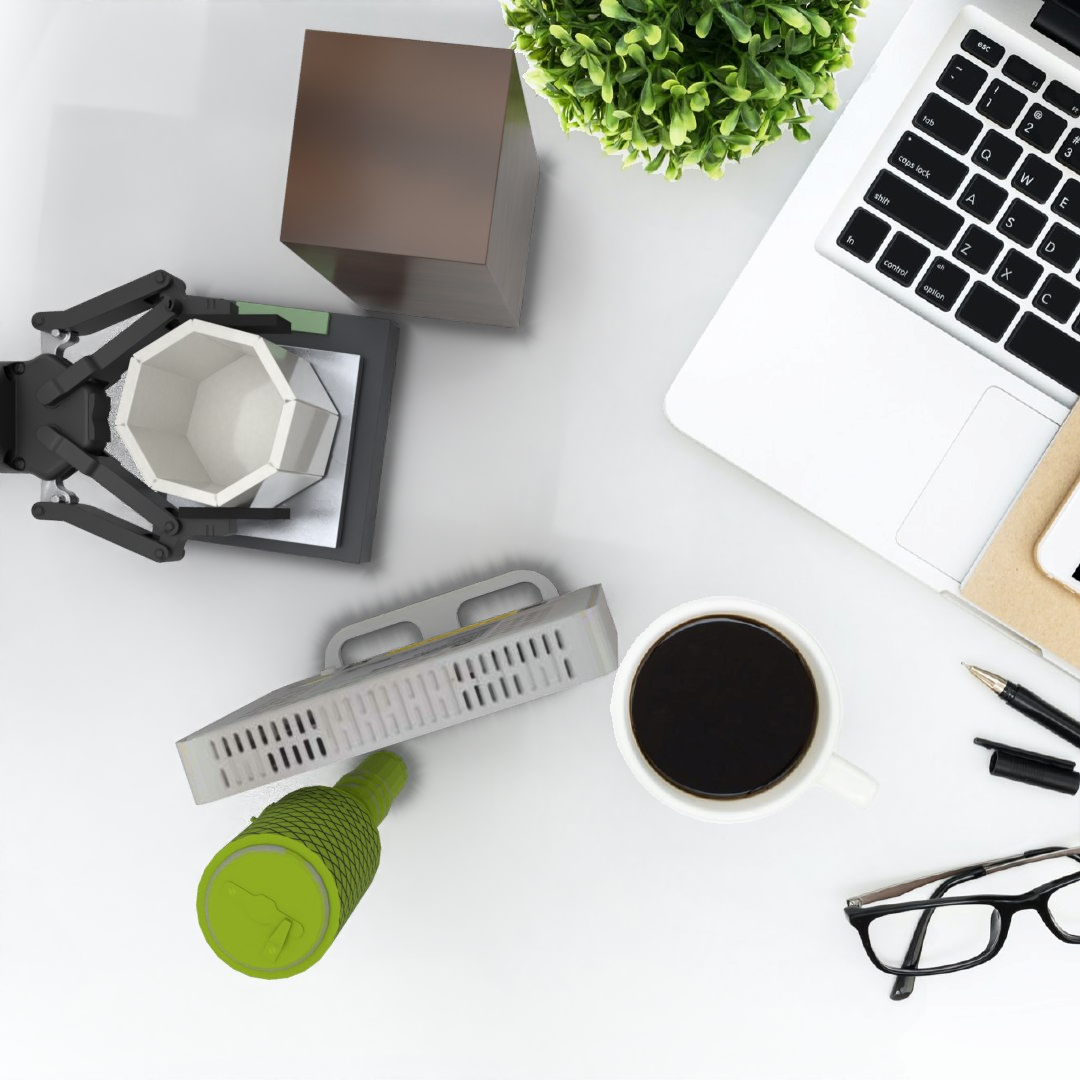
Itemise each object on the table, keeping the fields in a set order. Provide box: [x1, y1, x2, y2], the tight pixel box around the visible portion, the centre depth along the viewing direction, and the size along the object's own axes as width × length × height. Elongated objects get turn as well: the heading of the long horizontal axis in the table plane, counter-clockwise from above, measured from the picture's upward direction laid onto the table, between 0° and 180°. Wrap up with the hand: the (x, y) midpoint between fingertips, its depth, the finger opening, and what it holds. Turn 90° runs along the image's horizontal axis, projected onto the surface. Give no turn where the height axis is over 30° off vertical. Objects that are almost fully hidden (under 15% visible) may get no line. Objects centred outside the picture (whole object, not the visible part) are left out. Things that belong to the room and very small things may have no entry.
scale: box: [151, 294, 401, 565], centre depth 70 cm, size 18×16×3 cm
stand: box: [279, 28, 541, 329], centre depth 61 cm, size 12×12×18 cm
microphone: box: [195, 750, 408, 981], centre depth 59 cm, size 8×8×25 cm
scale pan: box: [167, 345, 364, 548], centre depth 68 cm, size 14×13×1 cm
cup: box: [114, 319, 339, 508], centre depth 63 cm, size 11×11×9 cm
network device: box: [174, 569, 619, 806], centre depth 61 cm, size 26×9×20 cm, turn 109°
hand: (284, 419), depth 61 cm, fingers closed on cup, 12 cm apart
